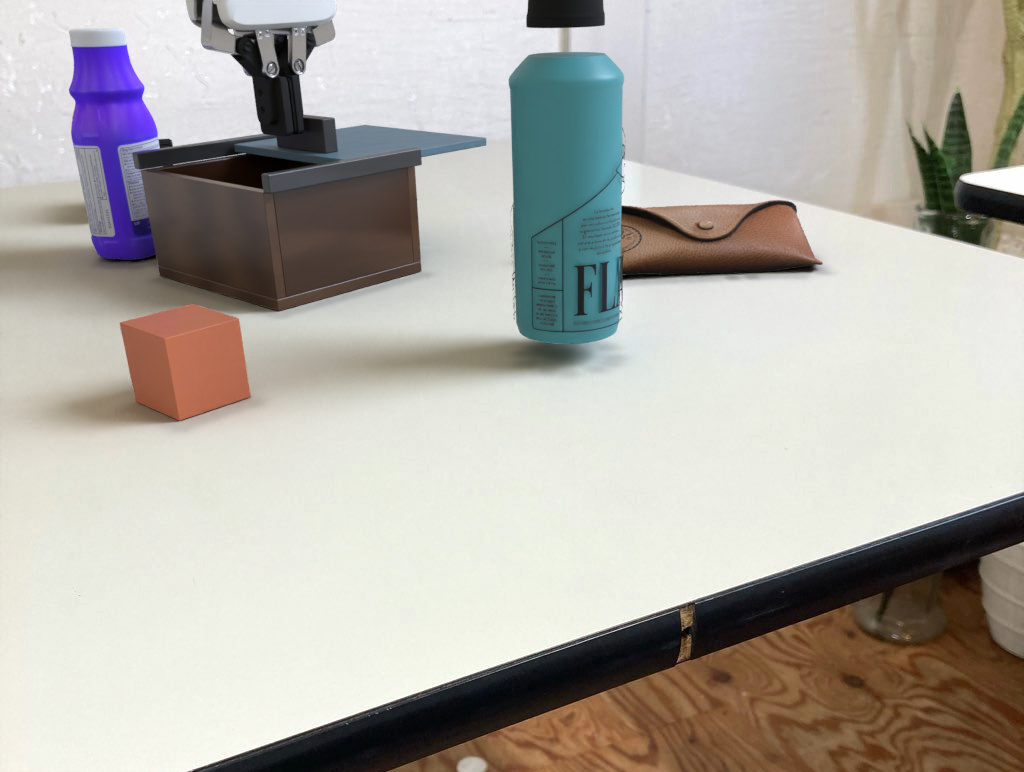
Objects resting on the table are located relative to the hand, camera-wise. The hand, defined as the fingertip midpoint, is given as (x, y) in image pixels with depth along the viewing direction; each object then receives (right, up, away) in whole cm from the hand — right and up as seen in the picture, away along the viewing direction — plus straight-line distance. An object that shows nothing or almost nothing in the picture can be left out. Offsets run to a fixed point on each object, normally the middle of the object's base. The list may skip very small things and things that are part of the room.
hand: (282, 133), depth 77 cm
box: (0, -9, +4) cm, 10 cm away
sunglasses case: (+32, -9, +4) cm, 33 cm away
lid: (+5, +1, +6) cm, 8 cm away
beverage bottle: (+20, -19, -14) cm, 31 cm away
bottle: (-15, -6, +12) cm, 20 cm away
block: (-1, -22, -20) cm, 29 cm away
